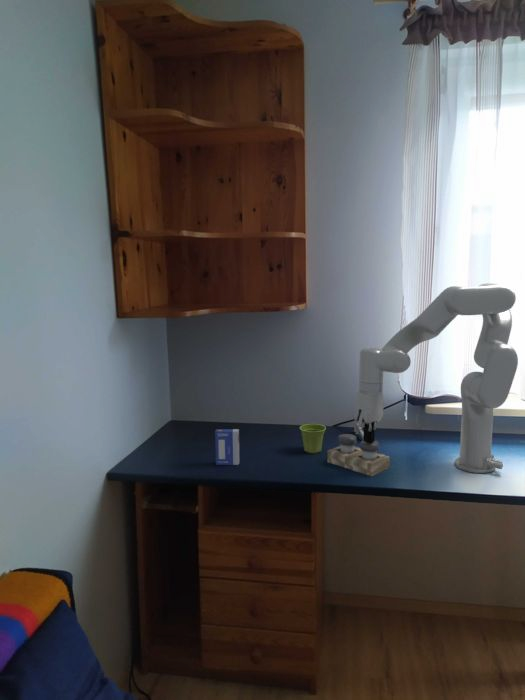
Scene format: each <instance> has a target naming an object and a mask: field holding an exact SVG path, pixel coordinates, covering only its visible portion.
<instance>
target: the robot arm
mask: <svg viewBox="0 0 525 700" xmlns="http://www.w3.org/2000/svg"><path fill="white" fill-rule="evenodd" d="M516 299H517V297H516V293H515V291H514V290H513V289H512V287H511V286H508V285H506V284H504V283H503V284H500V283H481V284H480V285H478V286H468V287H467V286H456V285H455V286H448V287H447V288H444V289H443V290H442V291H441V292H440V293H439V294H438V296H437V297H436V298H435V299H434V300H432V301H431V303H430V304H429V305H427V307H426V308H425V309H424V310H423V311H422V312H421V313H420V314H419V315H418V316H417V317H415V318H414V320H412V321H411V322H409V323H408V324H407V325H405V326H404V327H402V328H401V329H400V330H398V331H397V332H396V333H395V334H394V335H393V336H392V337H391V338H390V339H389V340H388V341H387V342H386V343H385V344H384V346H383V347H381V348H376V347H375V348H374V347H366V348H362V349H361V350H360V352H359V370H358V371H359V372H358V391H357V393H356V394H357V395H356V399H355V405H354V422H355V421H359V423H358V426H359V427H361V428H362V431H363V432H364V437H363V439H362V441H364V442H368V443H373V442H374V441H375V434H376V433H375V432H376V431H375V430H377V429H376V428H377V425H378V423H379V422H380V421H381V419H383V416H384V392H383V387H384V372H385V373H394V374H401V373H404V372H406V371H407V370H408V369H409V368H410V366H411V364H412V363H411V361H412V360H411V356H410V355H409V354H408V353H409V352H410V351H411V350H412V349H413V348H415V347H416V346H418V345H419V344H422V343H423V342H426V341H430V340H432V339H434V338H436V337H438V336H439V335H440V334H441V333H442V332H443V331H444V330H445V329H446V328H447V327H448V326H449V325H450V323H452V321H454V320H455V319H456V317H458V315H459V316H478V315H479V316H482V326H481V329H480V334H479V337H478V339H477V340H478V341H477V342H476V343H477V344H476V347H475V349H474V354H473V360H474V363H475V364H476V365H477V366H478V367H480V368H482V369H483V371H471V372H469V373H467V374H466V375H465V376H464V377H463V378H462V380H461V383H460V397H461V398H460V399H461V421H460V422H461V423H460V424H461V425H460V438H459V439H460V440H459V441H460V442H459V443H460V444H459V457H456V458H455V459H454V463H453V464H454V466H455V467H456V468H457V469H459V470H462V471H465V472H469V473H474V474H475V473H476V474H488V473H489V474H490V473H492V472H494V471H495V470H496V469H498V470H502V469H503V467H504V464H503V461H501V460H496V459H495V455H494V454H492V442H493V426H494V425H493V423H494V409H497V408H499V407H501V406H502V405H503V404H505V402H506V401H507V399H508V397H509V394H510V391H511V388H512V384H513V382H514V379H515V375H516V372H517V369H518V365H519V357H518V354H517V352H516V350H515V349H514V348H513V347H512V346H510V345H509V344H508V343H509V341H510V335H511V331H512V327H513V318H512V312H511V309H512V308H513V306H515V303H516Z"/></svg>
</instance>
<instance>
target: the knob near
mask: <svg viewBox="0 0 525 700" xmlns="http://www.w3.org/2000/svg"><path fill="white" fill-rule="evenodd" d="M359 444H360V445H359V448H360V449H361V450H362V458H363V459H366V460H369V461H373V460H375V459H377V453H378V451H380V443H379V441H377V440H374V442H373V443H368V442H364V441H363V440H361V441H360V443H359Z"/></svg>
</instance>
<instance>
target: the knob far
mask: <svg viewBox="0 0 525 700" xmlns="http://www.w3.org/2000/svg"><path fill="white" fill-rule="evenodd" d="M337 442H338V444H339V446H340V452H343V453H346V454H351V453H354V447H356V446H355V445H356V444H357V436H356V434H355V435H354V434H352V433H341V434H339V435H338V441H337Z"/></svg>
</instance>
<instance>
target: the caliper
mask: <svg viewBox="0 0 525 700" xmlns="http://www.w3.org/2000/svg"><path fill="white" fill-rule="evenodd" d="M358 423H359V421H355V420H354V424H353V425H354V427H353V429H354V430H353V432H356V433H355V435H359V436H360V437H361V438H362V440H363V437H364V430H363V428H362V427H359V426H358Z"/></svg>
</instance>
